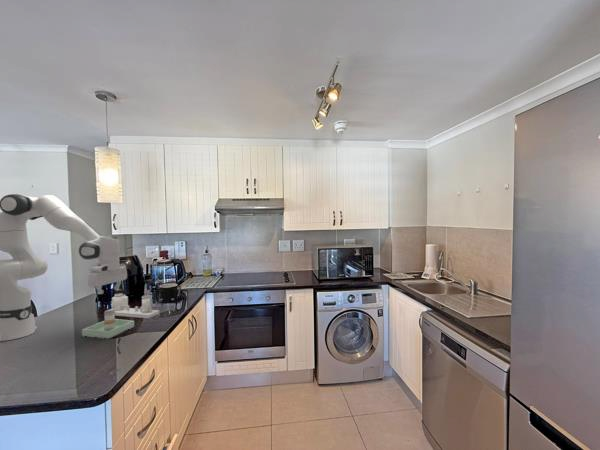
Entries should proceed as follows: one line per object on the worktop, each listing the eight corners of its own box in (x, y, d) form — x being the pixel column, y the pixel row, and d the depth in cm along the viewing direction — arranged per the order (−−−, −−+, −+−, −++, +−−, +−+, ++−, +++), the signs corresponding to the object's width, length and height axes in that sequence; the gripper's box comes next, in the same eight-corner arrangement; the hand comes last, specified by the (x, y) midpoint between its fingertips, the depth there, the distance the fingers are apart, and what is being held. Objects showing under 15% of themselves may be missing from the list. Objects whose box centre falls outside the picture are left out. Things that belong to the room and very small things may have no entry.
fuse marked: (101, 331, 142) (102, 312, 142) (109, 328, 146) (109, 309, 146) (109, 332, 141) (109, 313, 141) (116, 328, 145) (117, 310, 145)
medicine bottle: (128, 306, 186) (128, 289, 186) (116, 309, 180) (116, 291, 180) (123, 305, 190) (123, 288, 190) (111, 307, 184) (111, 290, 183)
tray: (82, 336, 137) (82, 329, 137) (109, 324, 153) (109, 318, 153) (108, 339, 134) (108, 331, 134) (134, 326, 150) (134, 320, 150)
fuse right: (139, 312, 167) (140, 296, 167) (145, 310, 172) (145, 294, 172) (146, 313, 167) (146, 297, 166) (151, 311, 171) (151, 295, 171)
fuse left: (112, 310, 171) (112, 294, 171) (118, 308, 176) (118, 293, 176) (118, 311, 170) (118, 295, 170) (124, 308, 175) (124, 293, 175)
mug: (161, 298, 206) (161, 283, 206) (183, 298, 208) (183, 282, 208) (152, 305, 190) (152, 288, 190) (176, 304, 192) (176, 287, 192)
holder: (104, 314, 170) (104, 306, 170) (116, 310, 179) (116, 302, 179) (149, 318, 164) (149, 310, 164) (159, 313, 173) (159, 305, 172)
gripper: (120, 262, 154) (120, 286, 154) (86, 268, 134) (85, 296, 134) (130, 263, 153) (129, 287, 153) (96, 269, 133) (96, 297, 133)
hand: (109, 291), depth 144 cm, fingers open, 8 cm apart
